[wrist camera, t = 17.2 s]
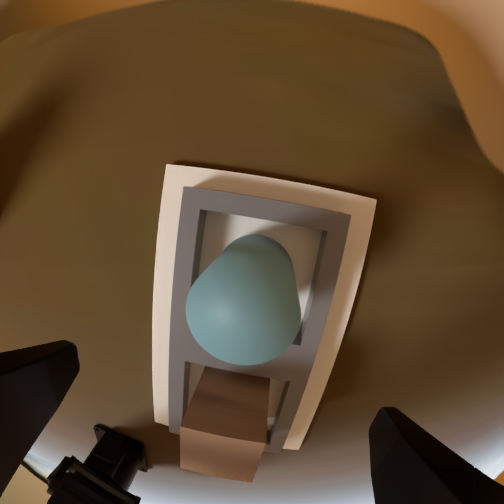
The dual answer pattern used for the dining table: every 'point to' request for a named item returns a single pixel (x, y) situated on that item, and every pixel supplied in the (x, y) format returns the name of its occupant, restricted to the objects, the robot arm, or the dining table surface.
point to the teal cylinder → (246, 303)
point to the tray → (306, 276)
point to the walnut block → (225, 425)
